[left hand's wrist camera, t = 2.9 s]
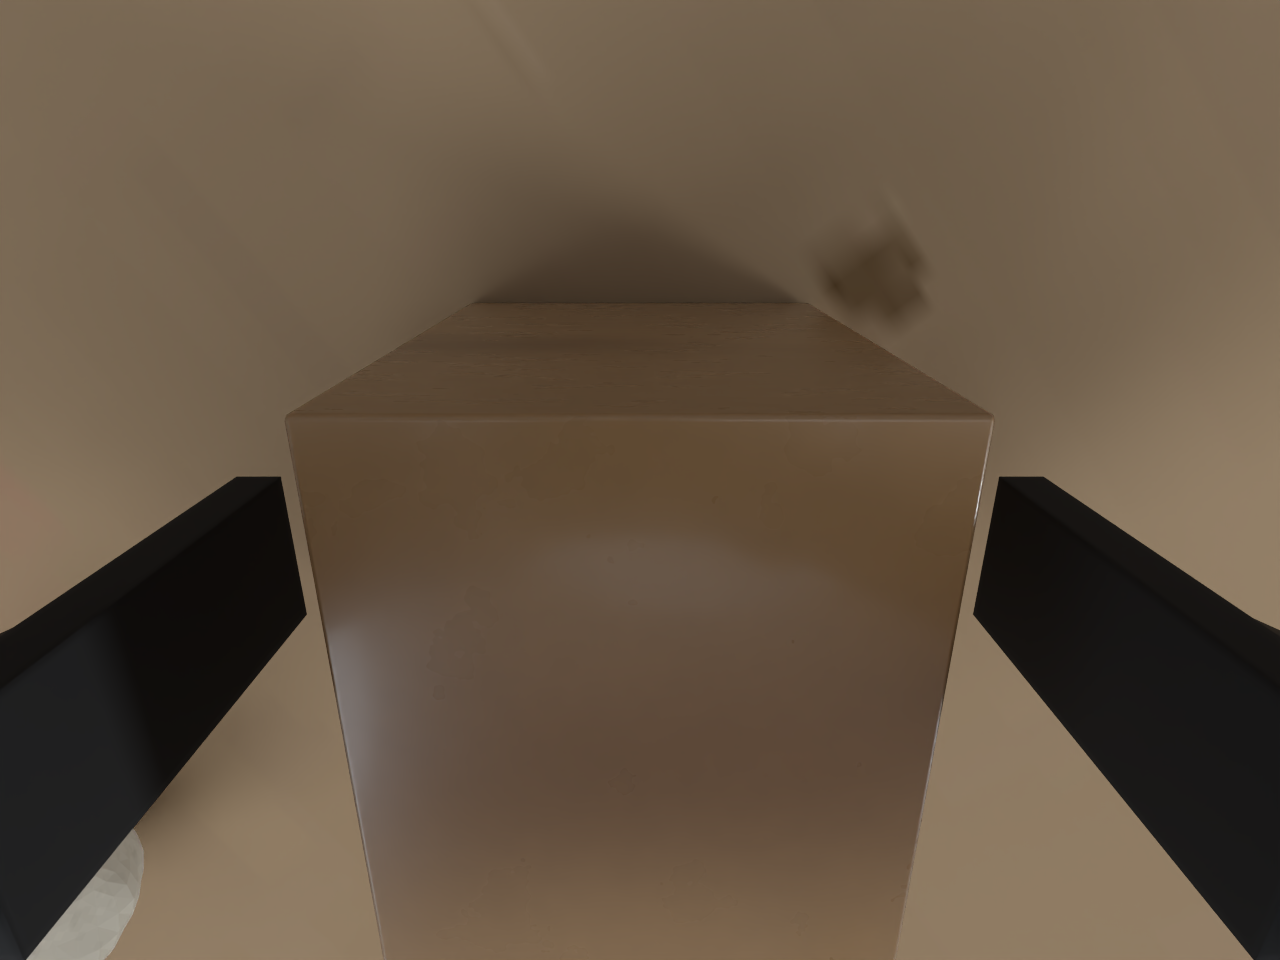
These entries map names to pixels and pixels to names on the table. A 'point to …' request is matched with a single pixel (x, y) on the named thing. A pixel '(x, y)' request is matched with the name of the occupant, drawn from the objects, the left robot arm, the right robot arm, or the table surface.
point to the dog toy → (98, 909)
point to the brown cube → (639, 626)
